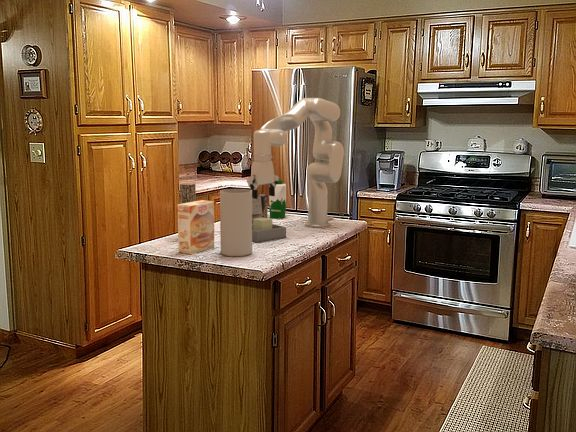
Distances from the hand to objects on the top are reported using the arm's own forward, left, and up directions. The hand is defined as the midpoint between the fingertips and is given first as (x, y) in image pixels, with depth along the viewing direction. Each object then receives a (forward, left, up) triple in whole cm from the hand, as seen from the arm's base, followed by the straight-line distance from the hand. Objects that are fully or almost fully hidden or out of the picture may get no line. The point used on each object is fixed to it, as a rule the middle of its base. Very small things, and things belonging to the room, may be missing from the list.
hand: (263, 197), depth 253 cm
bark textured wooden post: (+27, -20, -19) cm, 38 cm away
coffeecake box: (+36, +1, -19) cm, 40 cm away
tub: (+1, 0, -18) cm, 18 cm away
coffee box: (-13, -20, -19) cm, 30 cm away
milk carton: (-38, -36, -19) cm, 56 cm away
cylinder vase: (+27, +16, -19) cm, 36 cm away
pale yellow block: (+1, 0, -18) cm, 18 cm away
